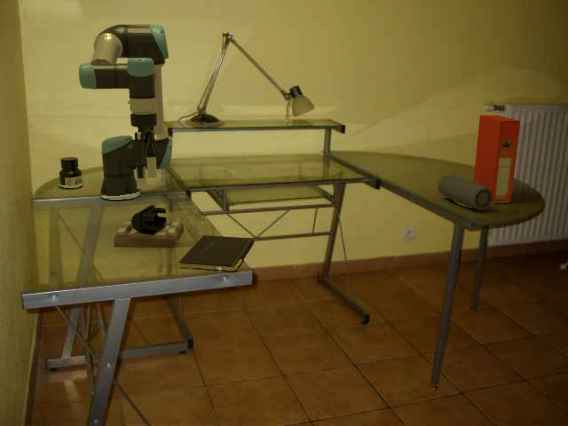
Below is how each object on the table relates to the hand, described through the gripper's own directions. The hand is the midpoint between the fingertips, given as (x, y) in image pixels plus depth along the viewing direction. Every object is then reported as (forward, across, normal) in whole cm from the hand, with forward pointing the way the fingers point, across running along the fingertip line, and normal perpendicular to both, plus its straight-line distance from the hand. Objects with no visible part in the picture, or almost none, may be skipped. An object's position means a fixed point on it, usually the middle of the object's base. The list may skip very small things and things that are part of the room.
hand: (147, 183), depth 177 cm
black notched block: (+15, 0, 0) cm, 15 cm away
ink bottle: (+18, -64, -47) cm, 81 cm away
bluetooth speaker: (+18, -43, +110) cm, 120 cm away
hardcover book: (+18, +14, +23) cm, 33 cm away
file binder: (+18, -54, +124) cm, 136 cm away
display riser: (+18, 0, 0) cm, 18 cm away
